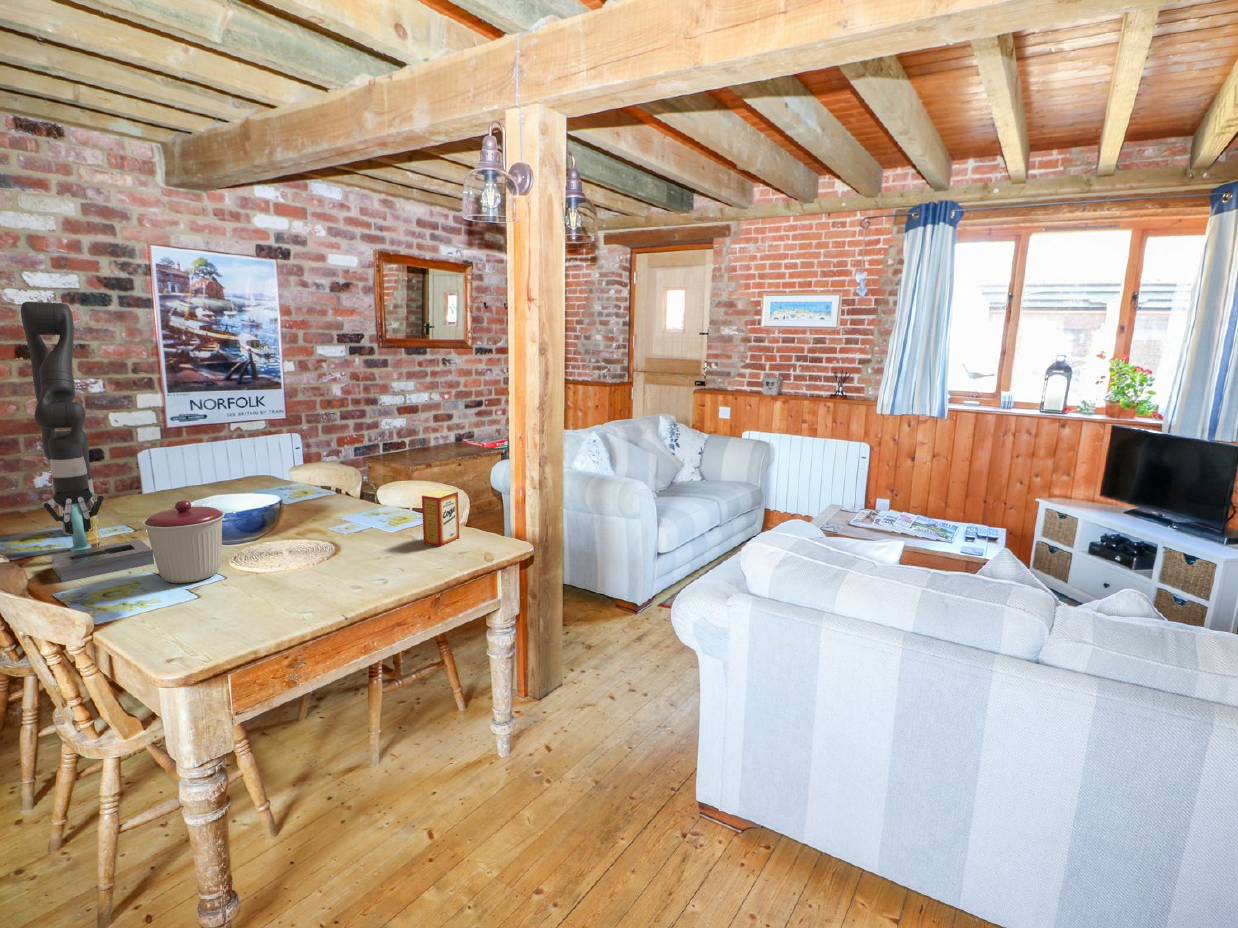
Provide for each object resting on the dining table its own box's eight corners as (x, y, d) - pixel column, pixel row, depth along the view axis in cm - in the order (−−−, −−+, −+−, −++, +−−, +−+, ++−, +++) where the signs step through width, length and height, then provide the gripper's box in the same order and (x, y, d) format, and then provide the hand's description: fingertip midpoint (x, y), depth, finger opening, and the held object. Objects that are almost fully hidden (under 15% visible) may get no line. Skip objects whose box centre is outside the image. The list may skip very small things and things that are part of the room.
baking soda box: (443, 535, 212) (441, 488, 209) (459, 538, 210) (457, 490, 206) (423, 543, 204) (421, 494, 200) (440, 546, 201) (438, 497, 198)
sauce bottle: (85, 552, 190) (75, 487, 186) (68, 550, 191) (58, 485, 188) (106, 545, 196) (97, 482, 193) (90, 544, 198) (80, 481, 194)
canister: (173, 594, 161) (163, 513, 157) (136, 580, 170) (125, 503, 166) (244, 572, 177) (237, 498, 172) (207, 560, 185) (199, 489, 181)
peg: (69, 552, 184) (61, 502, 181) (90, 549, 188) (82, 499, 185) (72, 556, 181) (65, 506, 178) (93, 552, 185) (86, 503, 182)
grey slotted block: (53, 568, 177) (50, 555, 176) (141, 551, 192) (139, 539, 191) (62, 582, 168) (60, 567, 167) (154, 563, 182) (152, 549, 182)
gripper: (98, 467, 187) (106, 524, 191) (33, 474, 177) (43, 534, 180) (104, 472, 182) (112, 530, 186) (38, 479, 172) (48, 541, 176)
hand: (78, 532), depth 183 cm, fingers closed on peg, 3 cm apart
